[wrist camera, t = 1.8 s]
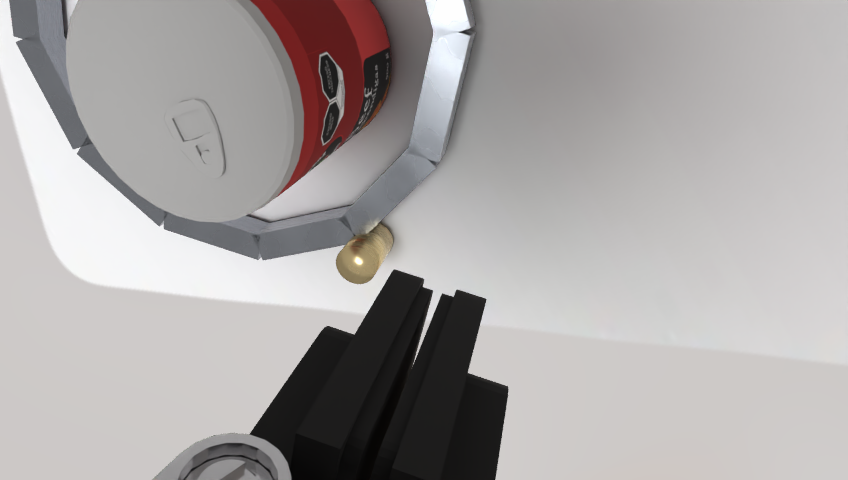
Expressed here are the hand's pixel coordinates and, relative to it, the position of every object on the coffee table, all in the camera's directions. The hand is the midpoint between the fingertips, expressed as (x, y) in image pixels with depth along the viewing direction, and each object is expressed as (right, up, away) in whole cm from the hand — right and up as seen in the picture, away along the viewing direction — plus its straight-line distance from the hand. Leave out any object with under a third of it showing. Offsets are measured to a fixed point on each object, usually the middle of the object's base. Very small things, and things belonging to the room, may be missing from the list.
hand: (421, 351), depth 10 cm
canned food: (-5, +11, +17) cm, 21 cm away
